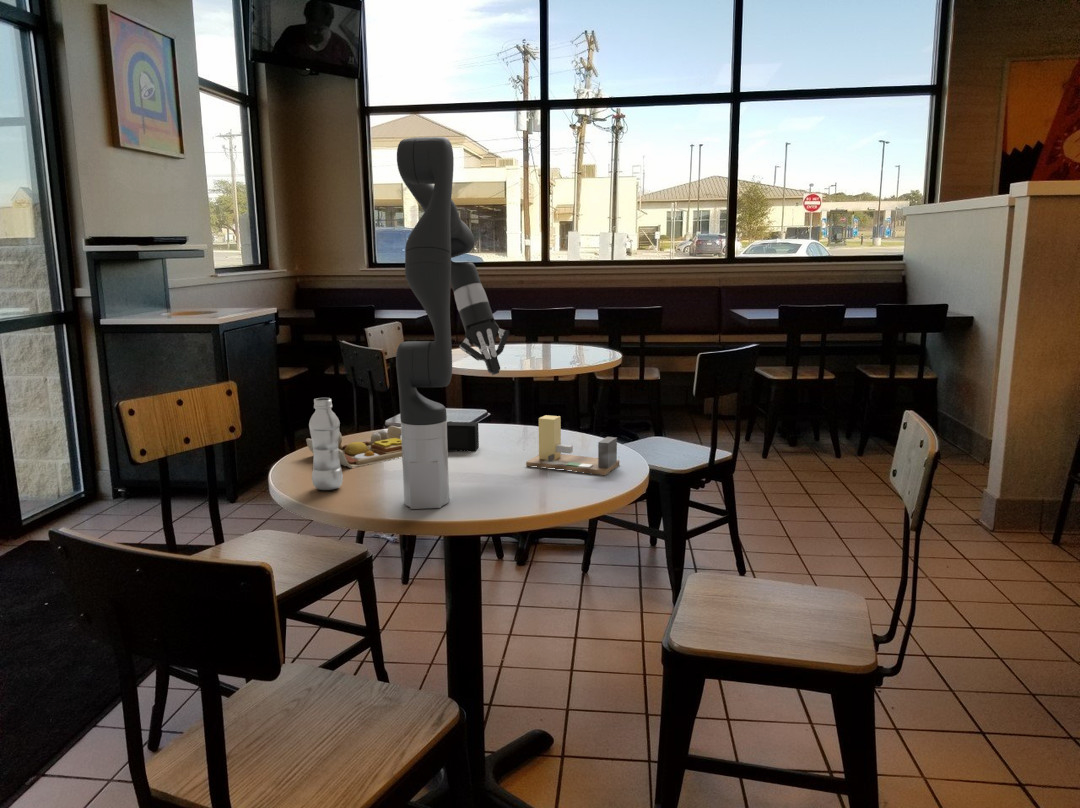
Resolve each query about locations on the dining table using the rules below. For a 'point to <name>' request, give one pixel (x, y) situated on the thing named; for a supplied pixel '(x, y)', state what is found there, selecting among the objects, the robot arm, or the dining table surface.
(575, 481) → the dining table surface
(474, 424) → the digital camera
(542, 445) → the block
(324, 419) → the plastic bottle
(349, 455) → the toy food set
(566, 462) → the base
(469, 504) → the dining table surface
